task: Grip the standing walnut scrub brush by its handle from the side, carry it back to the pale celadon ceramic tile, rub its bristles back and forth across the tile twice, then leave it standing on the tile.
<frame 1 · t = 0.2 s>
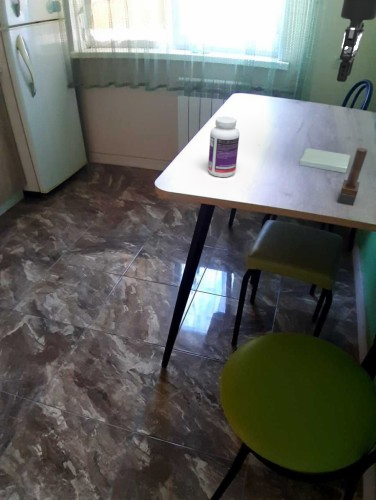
hand: (343, 78, 99), 26 cm above the table, tool pointing down, fingers open, 8 cm apart
pill bottle: (221, 173, 120), on the table
tile: (324, 162, 130), on the table
brush: (346, 199, 110), on the table
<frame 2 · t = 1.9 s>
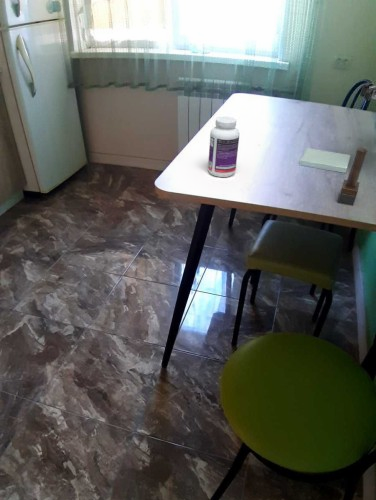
nothing on the table moved.
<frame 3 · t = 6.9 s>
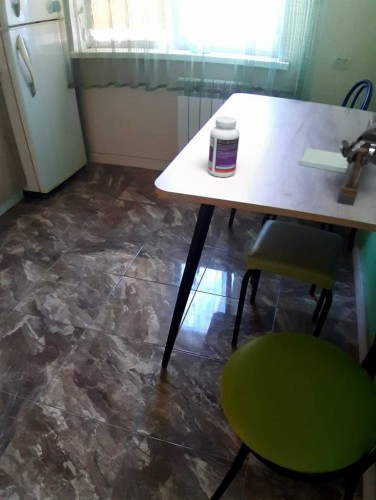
hand: (356, 161, 101), 11 cm above the table, tool horizontal, fingers closed on brush, 2 cm apart
brush: (346, 199, 110), on the table, touching gripper
everything else where it was.
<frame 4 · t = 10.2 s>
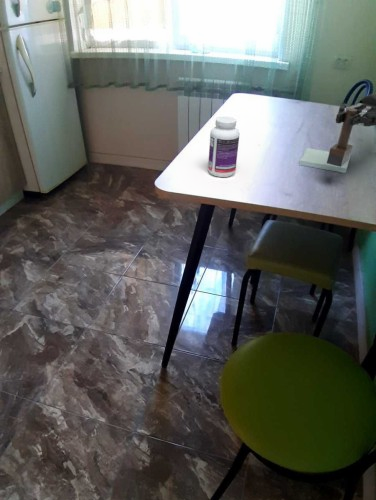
hand: (343, 120, 103), 17 cm above the table, tool horizontal, fingers closed on brush, 2 cm apart
brush: (337, 161, 112), point 7 cm above the table, touching gripper
everything else where it was.
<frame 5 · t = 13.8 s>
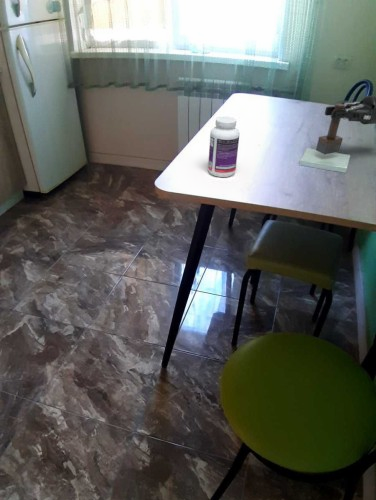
hand: (329, 112, 119), 14 cm above the table, tool horizontal, fingers closed on brush, 2 cm apart
brush: (327, 151, 127), point 3 cm above the table, touching gripper
everything else where it was.
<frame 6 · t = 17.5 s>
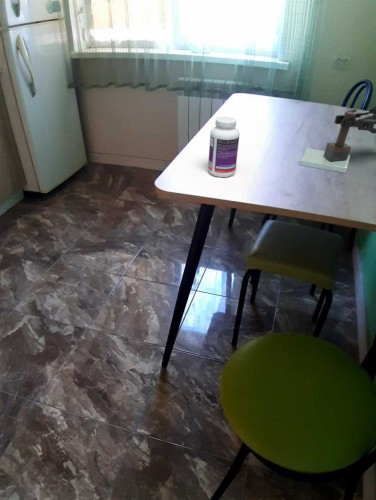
hand: (339, 121, 120), 12 cm above the table, tool horizontal, fingers closed on brush, 2 cm apart
brush: (334, 158, 128), point 2 cm above the table, touching gripper, tile
everything else where it was.
when the fingers open (12 cm above the table, at t = 20.8 s): brush stays where it is, resting on tile.
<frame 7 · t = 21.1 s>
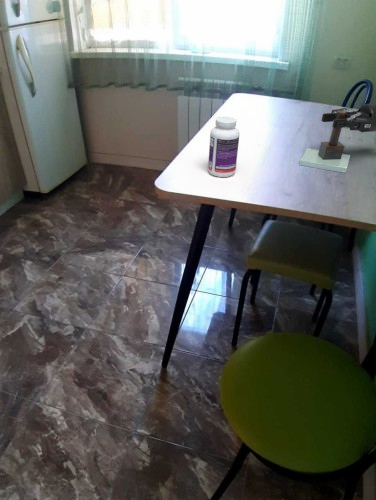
hand: (328, 120, 120), 12 cm above the table, tool horizontal, fingers open, 5 cm apart
brush: (329, 157, 129), point 1 cm above the table, touching tile
everything else where it was.
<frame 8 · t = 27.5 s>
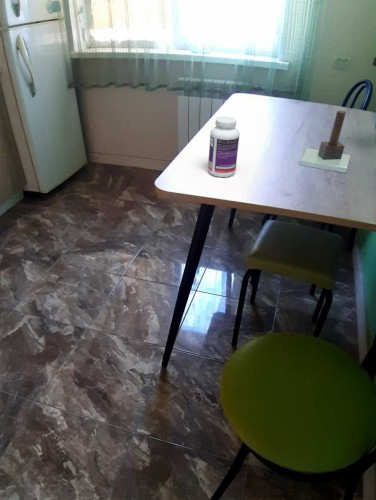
nothing on the table moved.
at the end: brush inside the target area on the tile (1.2 cm from its centre), point 1.5 cm above the tile's base; brush tilted 0°; the gripper is holding nothing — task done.
